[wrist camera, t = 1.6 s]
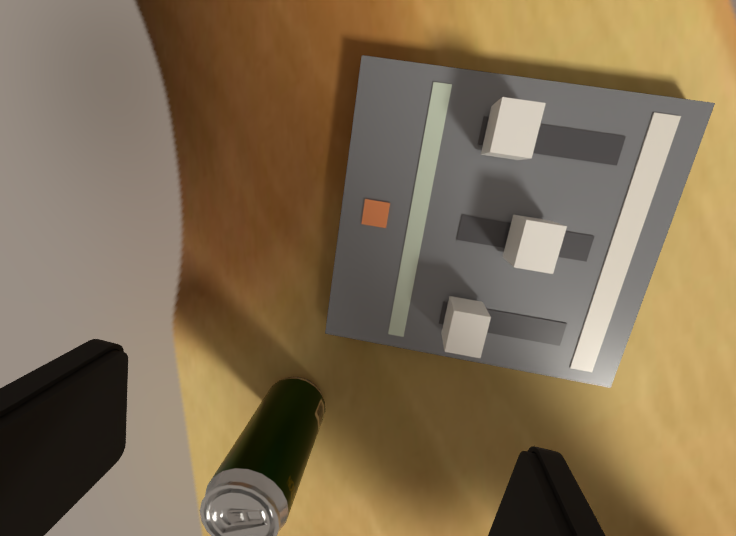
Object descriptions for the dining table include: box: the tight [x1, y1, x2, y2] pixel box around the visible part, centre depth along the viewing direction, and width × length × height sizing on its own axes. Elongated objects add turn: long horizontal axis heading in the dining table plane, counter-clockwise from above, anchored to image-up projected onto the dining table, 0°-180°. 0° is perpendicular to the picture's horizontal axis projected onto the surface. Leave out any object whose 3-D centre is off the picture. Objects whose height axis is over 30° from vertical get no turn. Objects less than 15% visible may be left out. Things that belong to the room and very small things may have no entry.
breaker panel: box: [325, 55, 715, 388], centre depth 26 cm, size 22×20×5 cm
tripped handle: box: [503, 215, 567, 274], centre depth 24 cm, size 2×3×3 cm
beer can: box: [200, 377, 325, 536], centre depth 28 cm, size 5×5×12 cm
